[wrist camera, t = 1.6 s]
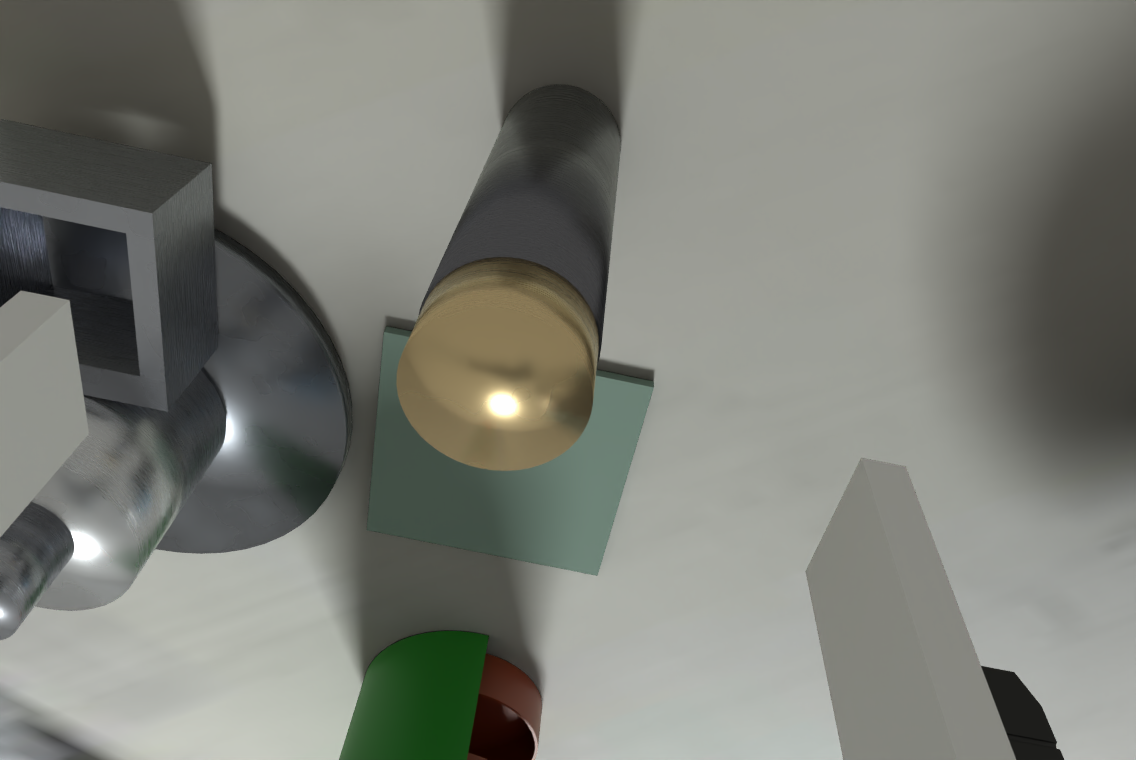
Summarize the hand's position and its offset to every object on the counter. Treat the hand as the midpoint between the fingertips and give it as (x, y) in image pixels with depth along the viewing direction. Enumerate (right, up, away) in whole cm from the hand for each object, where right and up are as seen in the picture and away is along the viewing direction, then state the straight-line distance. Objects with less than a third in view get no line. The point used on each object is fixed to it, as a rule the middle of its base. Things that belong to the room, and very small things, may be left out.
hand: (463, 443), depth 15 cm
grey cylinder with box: (-14, +3, +17) cm, 22 cm away
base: (-15, +1, +20) cm, 25 cm away
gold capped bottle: (+2, +8, +13) cm, 16 cm away
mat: (-1, -2, +20) cm, 21 cm away
